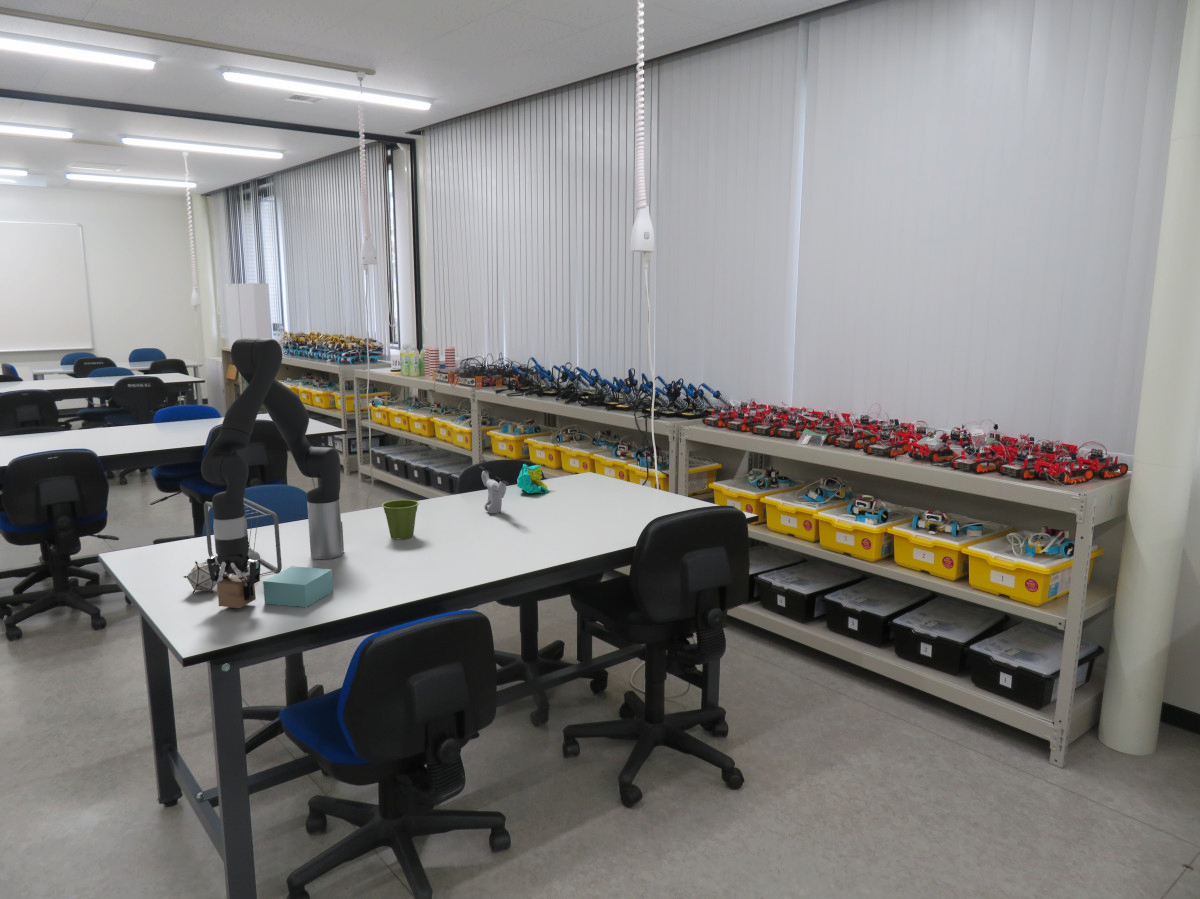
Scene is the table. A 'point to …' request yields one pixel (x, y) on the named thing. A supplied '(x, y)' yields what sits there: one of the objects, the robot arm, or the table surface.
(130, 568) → the table surface
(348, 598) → the table surface
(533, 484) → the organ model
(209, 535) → the newton's cradle
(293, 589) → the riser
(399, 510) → the plant pot
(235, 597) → the walnut cube
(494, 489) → the figurine
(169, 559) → the table surface
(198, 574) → the game die
